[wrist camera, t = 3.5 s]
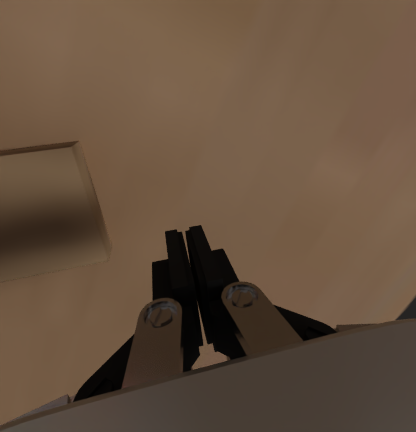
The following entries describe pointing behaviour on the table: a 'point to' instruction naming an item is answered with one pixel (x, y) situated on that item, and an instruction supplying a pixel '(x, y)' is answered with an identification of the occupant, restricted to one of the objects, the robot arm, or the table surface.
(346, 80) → the table surface
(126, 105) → the table surface
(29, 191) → the board
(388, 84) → the table surface
